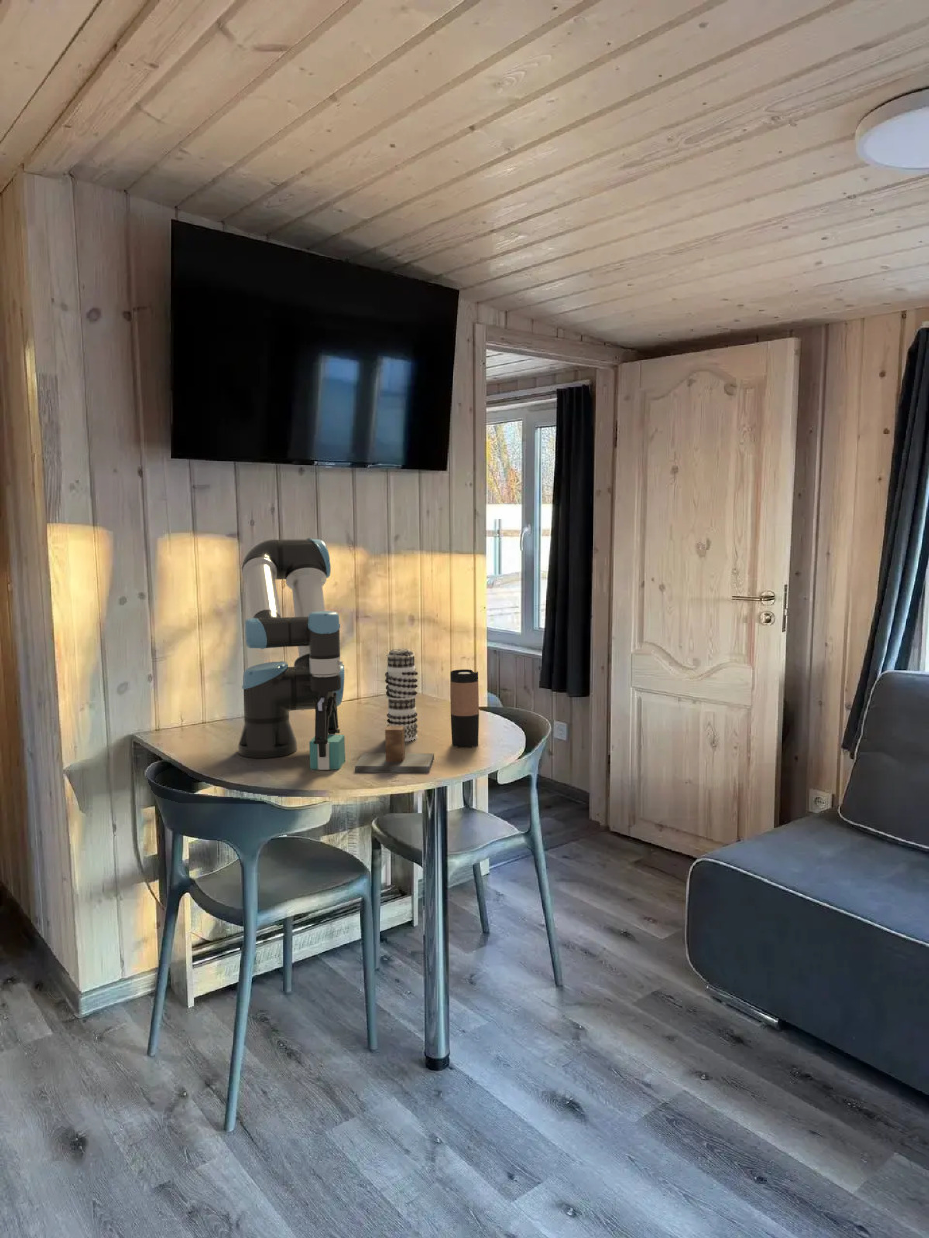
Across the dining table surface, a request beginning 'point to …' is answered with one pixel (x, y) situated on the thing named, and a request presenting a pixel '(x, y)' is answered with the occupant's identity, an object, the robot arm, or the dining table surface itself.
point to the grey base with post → (395, 756)
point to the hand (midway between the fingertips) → (327, 764)
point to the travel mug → (464, 708)
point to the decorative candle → (402, 691)
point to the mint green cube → (334, 752)
